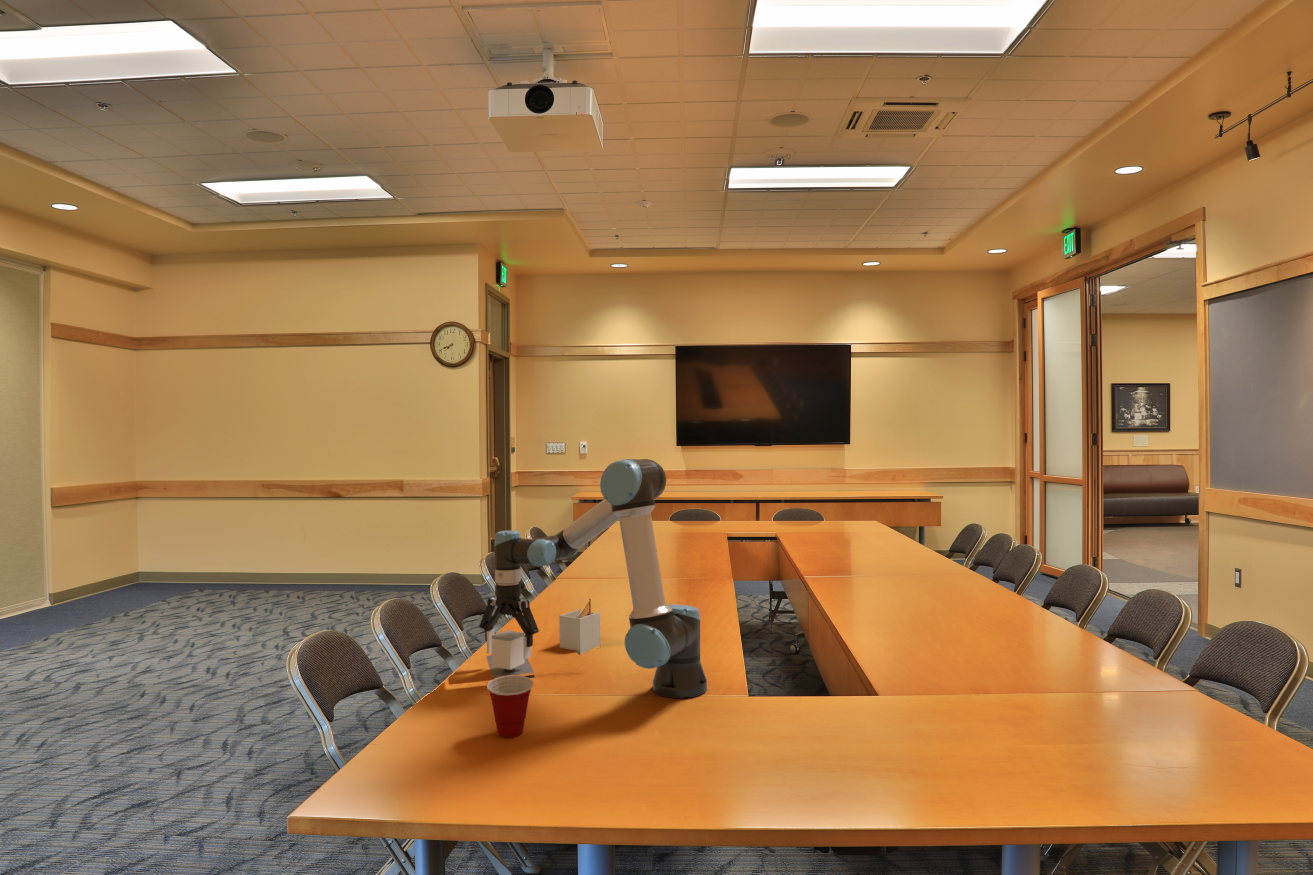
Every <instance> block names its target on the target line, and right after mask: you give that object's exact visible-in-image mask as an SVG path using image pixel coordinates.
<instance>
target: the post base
mask: <svg viewBox="0 0 1313 875" xmlns="http://www.w3.org/2000/svg"><path fill="white" fill-rule="evenodd" d="M486 659H487V663H488V666H489V670H490V673H491V677H492V678H493V679H494V678H498V677H502V676H509V675H522V674H528V675H523V676H524V677H528V678H530V679H533V678H535V674H534V673H535V672H534V669H533V668H532V665H531V662H530V661H529V659H528V658H526V659H525V663H524V664H522V665H519V666H517V667H515V668H513V669H510V670H509V669H503V668H497V667H492V654H491V655H486ZM529 674H530V675H529ZM492 678H491V680H493V679H492Z"/></svg>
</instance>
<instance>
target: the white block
mask: <svg viewBox="0 0 1313 875" xmlns="http://www.w3.org/2000/svg"><path fill="white" fill-rule="evenodd" d="M523 636H525V633H524V632H523V631H522V632H521V631H515V630H514V631H512V630H504V631H501V632H498V633H496V634H495V635H493V636H492V653H491V655H492V667H497V668H503V669H509V670H510V669H513V668H515V667H517V666H519V665H522V664H524V663H525V659H523Z"/></svg>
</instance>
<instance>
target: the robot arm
mask: <svg viewBox="0 0 1313 875" xmlns="http://www.w3.org/2000/svg"><path fill="white" fill-rule="evenodd" d="M599 481H600V482H599V487H600V493H601V495H602V497H603V499H602V500H601V501H600V502H598V503H597V504H595V506H593V507H592V508H590V509H589V510H588V511H586V512H585V513H584V514H583V515H581V516H580V517H578V518H577V519H575V520H574V521H572V522H571V523H570V524H569V525H567V526H566V527H565V528H563V529H562V530H560V531H559V532H558V533H556V534H555V535H550V536H548V535H547V536H543V537H538V538H522V537H521V533H520V531H519V530H500V531H497V532H495V535H494V545H493V548H494V549H493V550H494V582H495V585H494V595H495V596H492V597H490V598H487V602H486V603H487V604H486V608H485V609H484V610H485V611H484V613H483V615H482V618H481V620H480V623H479V628H480V629H483V630H484V633H485V634H484V636H485V639H484V641H485V642H486V654H488V655H489V654H492V636H493V635H495V633H496V632H495V631H496V630H495V629H494V628H495V627H494V626H496V623H497V622H498V621H499V620H500V618H502V616H503V615H504V616H505V615H507V616H508V617H509V616H512V618H514V619H515V621H516V622H517V624H518V626H519V627H520V628H521V630H522V633H525V636H523V659H526V658H527V659H528V658H531V657H532V646H534V635H535V634H538V633H539V627H538V624H537V622H536V620H535V618H534V615H533V613H532V609H531V606H530V601H529V600H528V599H527V600H522V601H521V599H520V598H521V595H522V584H521V580H522V571H521V570H522V569H521V568H522V567H521V565H527V566H534V567H535V566H536V567H547V566H550V565H551V564H552V563H553V562H554V561H560V560H566V559H569V558H572V557H574V556H576V554H578V552H579V550H580V549H581V547H583V546H585V545H586V544H587V543H588V542H591V541H592V540H593V539H594V538H595V537H597V536H598V535H600V534H601V533H603V532H604V531H605V530H607V529H608V528H610V527H612V526H613V525H614V524H616V523H617V522H618V521H619V527H620V533H621V538H622V540H621V541H622V545H623V551H624V558H625V564H626V571H627V578H628V582H629V584H628V585H629V590H630V595H631V597H630V598H631V601H632V602H631V603H632V611H631V612H630V613H629V615H628V621H629V627H630V628H628V630H627V633H626V634H625V637H624V648H625V650H626V651H625V652H626V654H627V655H628V657H629V658H630V659H631V661H632V662H634V663H635V664H636V665H637V666H638V667H640V668H643V669H648V670H649V669H650V670H651V669H656V670H655V672H654V675H653V679H652V690H653V692H654V693H655V694H657V695H659V696H662V697H667V698H671V697H672V698H673V699H685V698H684V697H689V698H694V697H698V696H701V695H703V694H706V692H707V690H708V681H707V680H708V679H707V677H706V673H705V671H704V667H703V664H702V661H701V614H700V610H699V608H697V607H695V606H692V605H687V604H667V603H666V599H665V593H664V592H665V591H664V586H663V580H662V575H661V568H660V562H659V561H660V560H659V556H658V555H659V554H658V549H657V543H656V538H655V532H654V525H653V520H652V518H653V517H652V512H653V510H654V509H655V508H656V501H655V500H656V499H658V498H659V497H660V496H661V495H662V494H663V493H664V491H665V488H666V485H667V475H666V472H665V470H664V468H663V467H662V466H661V464H660V463H658V462H656V461H655V460H652V459H648V458H642V459H638V458H637V459H635V458H634V459H632V458H626V459H624V458H623V459H619V460H617V461H616V460H615V461H614V462H610V463H609V465H607V467H606V468H605V469H604V471H603V472H602V474H601V477H600V480H599ZM495 608H496V609H495Z"/></svg>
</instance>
